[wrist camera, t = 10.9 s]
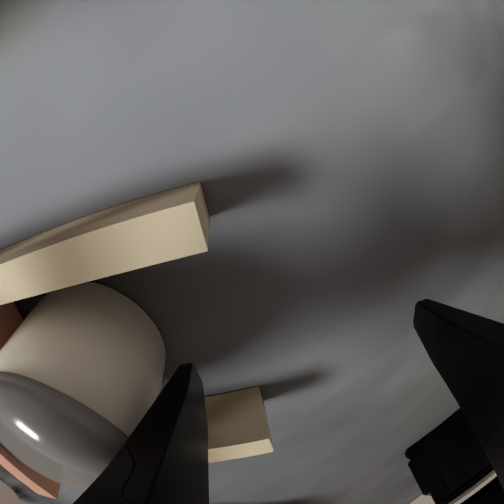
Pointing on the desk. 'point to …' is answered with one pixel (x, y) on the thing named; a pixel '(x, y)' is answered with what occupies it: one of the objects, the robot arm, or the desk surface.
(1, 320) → the pusher
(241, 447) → the lane
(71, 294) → the jar
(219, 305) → the desk surface
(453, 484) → the robot arm
